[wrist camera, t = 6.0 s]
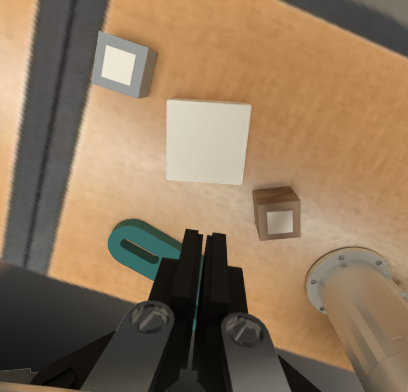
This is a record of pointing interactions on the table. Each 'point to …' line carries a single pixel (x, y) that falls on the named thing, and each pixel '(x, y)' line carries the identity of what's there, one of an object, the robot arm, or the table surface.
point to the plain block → (206, 140)
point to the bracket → (147, 240)
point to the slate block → (123, 66)
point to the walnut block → (277, 213)
